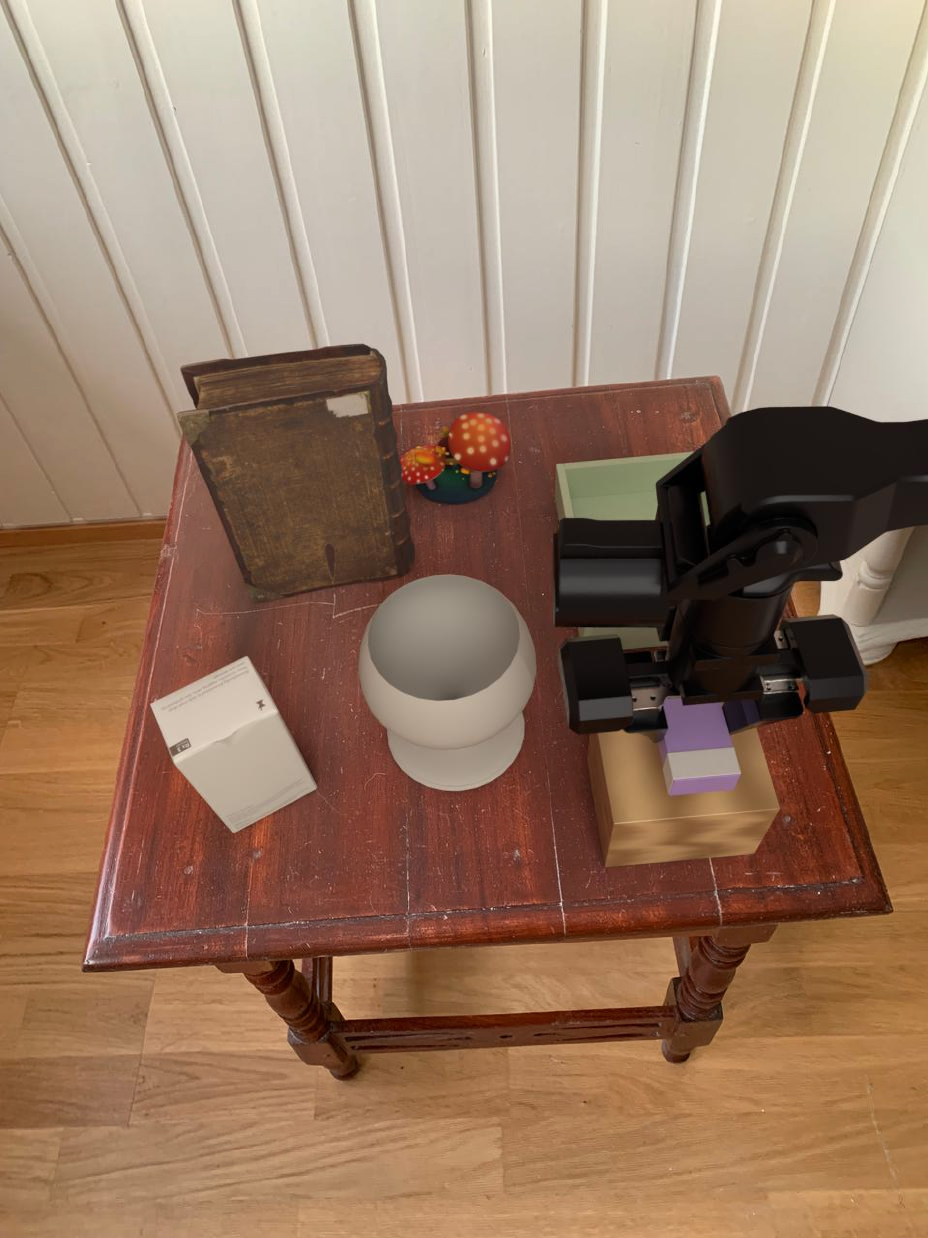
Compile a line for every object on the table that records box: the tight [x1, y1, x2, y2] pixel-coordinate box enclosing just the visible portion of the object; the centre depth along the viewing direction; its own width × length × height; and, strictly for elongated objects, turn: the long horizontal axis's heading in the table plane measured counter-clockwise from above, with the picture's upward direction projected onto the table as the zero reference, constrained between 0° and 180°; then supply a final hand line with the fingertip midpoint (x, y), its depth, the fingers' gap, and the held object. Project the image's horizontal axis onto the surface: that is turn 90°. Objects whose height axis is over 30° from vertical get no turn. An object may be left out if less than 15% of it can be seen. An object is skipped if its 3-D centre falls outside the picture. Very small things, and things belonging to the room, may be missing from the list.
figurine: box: [399, 411, 512, 505], centre depth 94 cm, size 12×9×8 cm
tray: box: [554, 451, 710, 651], centre depth 87 cm, size 16×20×5 cm
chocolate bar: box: [658, 698, 741, 796], centre depth 64 cm, size 5×9×2 cm, turn 4°
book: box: [176, 343, 416, 603], centre depth 81 cm, size 17×7×25 cm, turn 93°
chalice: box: [358, 573, 537, 792], centre depth 74 cm, size 14×14×15 cm
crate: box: [586, 702, 781, 868], centre depth 71 cm, size 12×10×9 cm
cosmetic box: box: [149, 655, 318, 834], centre depth 71 cm, size 8×6×15 cm
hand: (688, 733), depth 65 cm, fingers closed on chocolate bar, 4 cm apart
